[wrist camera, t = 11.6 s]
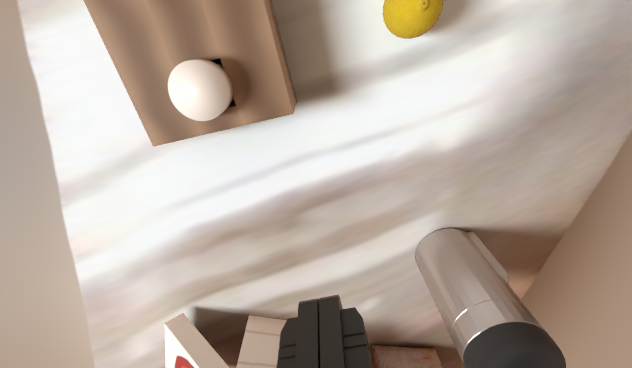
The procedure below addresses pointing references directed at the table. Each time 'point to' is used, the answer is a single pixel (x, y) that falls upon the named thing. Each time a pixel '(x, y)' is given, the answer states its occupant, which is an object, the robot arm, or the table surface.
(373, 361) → the food item
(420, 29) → the lemon
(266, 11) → the walnut block
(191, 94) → the white rounded piece
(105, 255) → the table surface
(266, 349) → the pizza boxes
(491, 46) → the table surface
